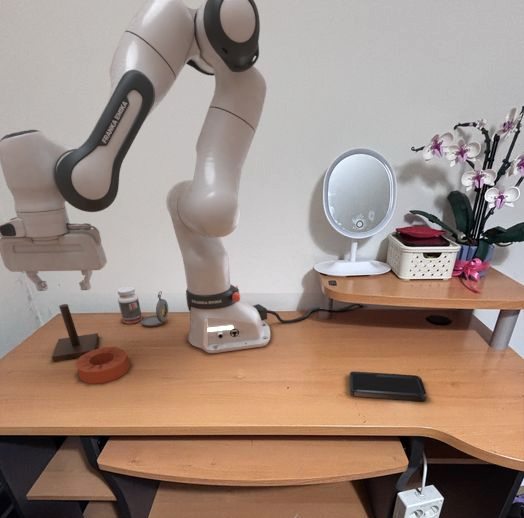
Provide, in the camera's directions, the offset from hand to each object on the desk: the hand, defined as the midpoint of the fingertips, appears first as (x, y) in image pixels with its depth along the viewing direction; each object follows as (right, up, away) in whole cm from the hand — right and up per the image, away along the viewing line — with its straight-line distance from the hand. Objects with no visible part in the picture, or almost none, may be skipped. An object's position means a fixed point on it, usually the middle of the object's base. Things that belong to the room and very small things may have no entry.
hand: (64, 289), depth 82 cm
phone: (+69, -21, -2) cm, 73 cm away
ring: (+5, -18, +8) cm, 20 cm away
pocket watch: (+12, -5, +30) cm, 33 cm away
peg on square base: (-6, -13, +18) cm, 23 cm away
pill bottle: (+4, -4, +33) cm, 33 cm away
